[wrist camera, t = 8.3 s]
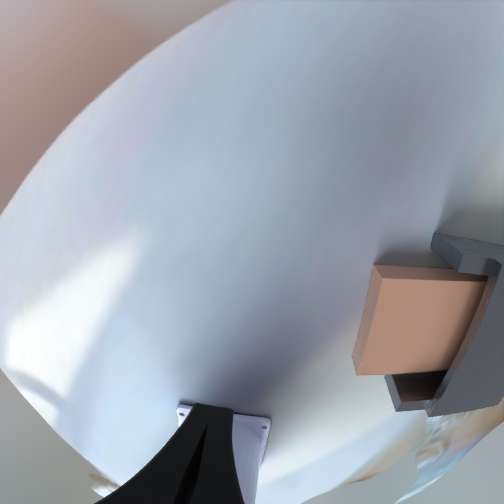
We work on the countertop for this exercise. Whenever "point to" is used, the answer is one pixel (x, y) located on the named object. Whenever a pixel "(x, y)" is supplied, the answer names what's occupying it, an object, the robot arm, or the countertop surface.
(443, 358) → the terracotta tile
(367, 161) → the countertop surface
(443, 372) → the low gray notched block
